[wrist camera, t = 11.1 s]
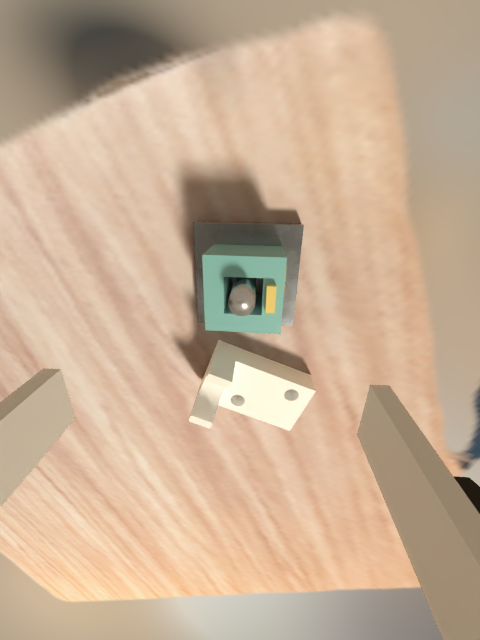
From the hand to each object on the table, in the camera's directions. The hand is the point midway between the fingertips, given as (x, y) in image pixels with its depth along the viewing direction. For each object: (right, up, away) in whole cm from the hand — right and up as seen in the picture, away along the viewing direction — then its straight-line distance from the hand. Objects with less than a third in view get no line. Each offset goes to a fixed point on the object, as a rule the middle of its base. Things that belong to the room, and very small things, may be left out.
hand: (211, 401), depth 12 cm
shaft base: (+2, +9, +19) cm, 21 cm away
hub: (+2, +8, +17) cm, 19 cm away
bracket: (+3, -4, +25) cm, 26 cm away
